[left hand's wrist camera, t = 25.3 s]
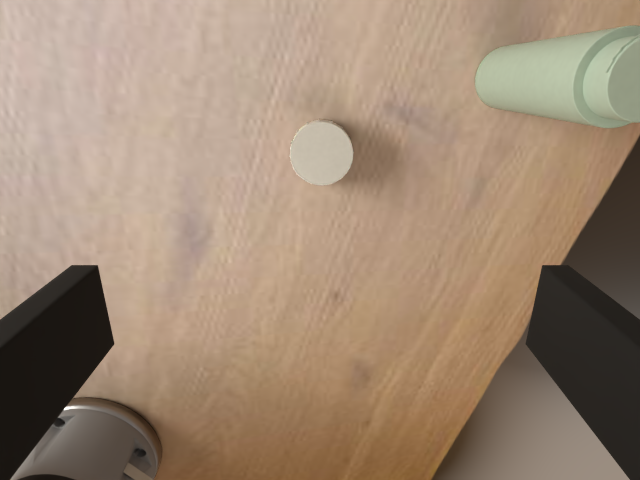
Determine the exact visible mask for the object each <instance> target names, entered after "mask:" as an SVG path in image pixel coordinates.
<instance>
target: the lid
mask: <svg viewBox="0 0 640 480" xmlns="http://www.w3.org/2000/svg"><path fill="white" fill-rule="evenodd" d="M350 140H351V138H350V136H348V135H347V133H346V132H345V130H344V129H343V127H341V126H339V125H338V124H336V123H334V122H332V120H331V121H329V120H322V119H321V120H320V119H319V120H314V121H311V122H309V123H308V122H307V124H305V125H304V126H302V127H301V128H300V129H299V130H297V133H296V135H295V137H294V139H293V140H292V142H291V144H292V145H291V149H290V159H291V163H292V166H293V169H294V170H295V172H296V173H297V174H298V175H299V176H300V177H301V178H302V179H303V180H305V181H306V182H308V183H310V184H313V185H320V186H323V185H330V184H333V183H335V182H337V181H339V180H340V179H341V178H343V177H344V176H345V175H346V173H347V172H348V171H349V169H350V167H351V164H352V161H353V152H354V150H353V147H352V143H351V141H350Z"/></svg>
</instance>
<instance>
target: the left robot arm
mask: <svg viewBox="0 0 640 480" xmlns="http://www.w3.org/2000/svg"><path fill="white" fill-rule="evenodd" d="M113 345H114V340H113V335H112V331H111V326H110V321H109V316H108V312H107V307H106V302H105V298H104V293H103V288H102V283H101V279H100V274H99V269H98V265H72V266H70V267H69V268H68V269H66V270H65V271H64V272H62V273H61V274H60V275H58V276H57V277H56V278H54V279H53V280H52V281H50V282H49V283H48V284H47V285H45V286H44V287H43V288H41V289H40V290H39V291H37V292H36V293H35V294H33V295H32V296H31V297H29V298H28V299H27V300H26V301H24V302H23V303H22V304H20V305H19V306H18V307H16V308H15V309H14V310H12V311H11V312H10V313H8V314H7V315H6V316H5V317H3V318H2V319H1V320H0V480H10V479H11V480H154V478H155V475H156V473H157V471H158V468H159V466H160V463H161V457H162V450H161V445H160V441H159V439H158V437H157V435H156V433H155V431H154V430H153V429H152V427H151V426H150V425H149V424H148V423H147V422H146V421H145V420H144V419H143V418H142V417H141V416H139V415H138V414H137V413H135V412H134V411H132V410H130V409H128V408H127V407H125V406H122V405H120V404H117V403H115V402H112V401H108V400H103V399H98V398H74V399H72V398H73V397H74V396H75V394H76V393H77V392H78V391H79V389H80V388H81V387H82V385H83V384H84V383H85V381H86V380H87V379H88V378H89V376H90V375H91V374H92V372H93V371H94V370H95V368H96V367H97V366H98V365H99V363H100V362H101V361H102V359H103V358H104V357H105V355H106V354H107V353H108V352H109V350H110V349H111V348H112V346H113ZM526 345H527V346H528V348H529V349H530V350H531V352H532V353H533V354H534V355H535V357H536V358H537V359H538V361H539V362H540V363H541V364H542V366H543V367H544V368H545V370H546V371H547V372H548V374H549V375H550V376H551V378H552V379H553V380H554V381H555V383H556V384H557V385H558V386H559V388H560V389H561V390H562V392H563V393H564V394H565V396H566V397H567V398H568V400H569V401H570V402H571V404H572V405H573V406H574V407H575V409H576V410H577V411H578V413H579V414H580V415H581V417H582V418H583V419H584V420H585V422H586V423H587V424H588V426H589V427H590V428H591V430H592V431H593V432H594V433H595V435H596V436H597V437H598V439H599V440H600V441H601V443H602V444H603V445H604V446H605V448H606V449H607V450H608V452H609V453H610V454H611V456H612V457H613V458H614V460H615V461H616V462H617V463H618V465H619V466H620V467H621V469H622V470H623V471H624V473H625V474H626V475H627V476H628V478H629V479H630V480H640V320H639V319H638V318H637V317H635V316H634V315H633V314H632V313H630V312H629V311H628V310H626V309H625V308H624V307H622V306H621V305H620V304H618V303H617V302H616V301H614V300H613V299H612V298H611V297H609V296H608V295H607V294H605V293H604V292H603V291H601V290H600V289H599V288H597V287H596V286H595V285H593V284H592V283H591V282H590V281H588V280H587V279H586V278H584V277H583V276H582V275H580V274H579V273H578V272H576V271H575V270H574V269H572V268H571V267H570V266H568V265H542V269H541V274H540V279H539V283H538V288H537V293H536V298H535V302H534V307H533V312H532V316H531V321H530V326H529V331H528V336H527V340H526Z"/></svg>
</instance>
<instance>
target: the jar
mask: <svg viewBox="0 0 640 480" xmlns="http://www.w3.org/2000/svg"><path fill="white" fill-rule="evenodd" d="M475 87H476V91H477V94H478V96H479V98H480V99H481V100H482V101H483V102H484V103H485V104H486V105H488V106H490V107H492V108H497V109H502V110H507V111H513V112H518V113H524V114H529V115H535V116H540V117H546V118H551V119H557V120H562V121H568V122H573V123H579V124H584V125H590V126H595V127H601V128H617V127H621V126H625V125H628V124H630V123H632V122H635V123H640V26H624V27H618V28H612V29H606V30H600V31H594V32H588V33H582V34H576V35H569V36H563V37H557V38H551V39H545V40H539V41H533V42H527V43H521V44H514V45H508V46H503V47H499V48H497V49H495V50H493V51H492V52H490V53H489V54H488V55H487V56H486V57H485V58H484V59H483V60H482V62H481V63H480V65H479V67H478V70H477V73H476V77H475Z"/></svg>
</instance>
